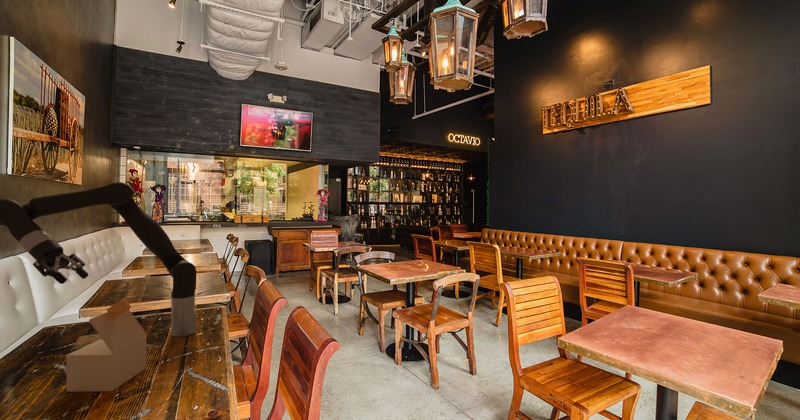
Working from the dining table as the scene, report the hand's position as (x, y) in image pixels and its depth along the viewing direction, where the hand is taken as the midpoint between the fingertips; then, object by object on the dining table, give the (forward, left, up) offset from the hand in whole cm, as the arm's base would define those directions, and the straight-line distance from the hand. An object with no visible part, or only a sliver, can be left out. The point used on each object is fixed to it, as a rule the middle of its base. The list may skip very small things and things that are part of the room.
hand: (75, 279), depth 124 cm
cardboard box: (-10, +11, -33) cm, 36 cm away
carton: (0, -24, -34) cm, 41 cm away
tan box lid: (-12, +13, -15) cm, 23 cm away
